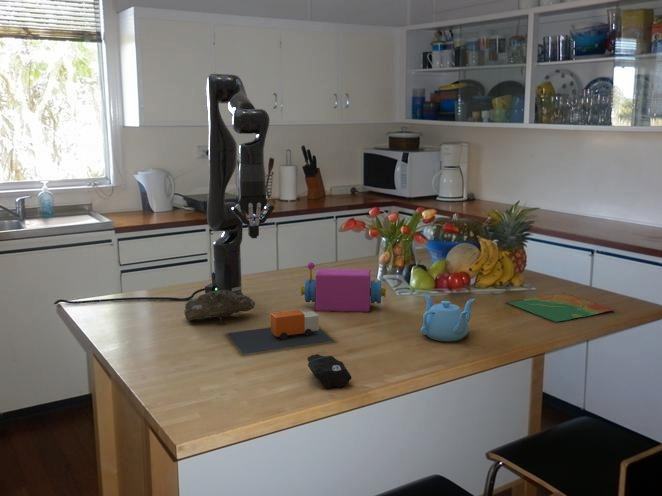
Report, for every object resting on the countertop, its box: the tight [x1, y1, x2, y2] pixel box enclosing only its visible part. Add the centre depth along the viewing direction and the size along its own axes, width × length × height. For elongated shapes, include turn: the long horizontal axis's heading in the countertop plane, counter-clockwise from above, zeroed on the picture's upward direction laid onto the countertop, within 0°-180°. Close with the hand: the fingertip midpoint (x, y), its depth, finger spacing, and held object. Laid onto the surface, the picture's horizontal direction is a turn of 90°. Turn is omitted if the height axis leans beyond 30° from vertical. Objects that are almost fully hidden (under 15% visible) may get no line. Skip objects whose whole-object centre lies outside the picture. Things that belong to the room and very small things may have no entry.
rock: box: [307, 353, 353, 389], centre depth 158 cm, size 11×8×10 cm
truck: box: [269, 309, 320, 340], centre depth 190 cm, size 7×5×13 cm
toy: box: [300, 261, 387, 313], centre depth 216 cm, size 28×9×15 cm, turn 86°
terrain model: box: [508, 292, 615, 323], centre depth 218 cm, size 25×22×1 cm
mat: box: [227, 327, 335, 355], centre depth 188 cm, size 26×18×1 cm
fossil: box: [183, 290, 256, 324], centre depth 203 cm, size 22×10×15 cm
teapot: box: [420, 293, 476, 342], centre depth 190 cm, size 15×15×10 cm
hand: (253, 237), depth 195 cm, fingers closed
